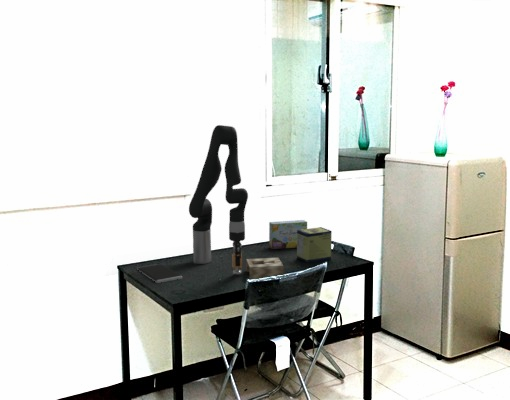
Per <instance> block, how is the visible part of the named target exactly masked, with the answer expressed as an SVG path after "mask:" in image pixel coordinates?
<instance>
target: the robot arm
mask: <svg viewBox="0 0 510 400" xmlns="http://www.w3.org/2000/svg"><path fill="white" fill-rule="evenodd" d="M221 145H223V146H224V145H225V146H227V147H228V156H227V158H226V161H225V164H224V174H225V180H226V185H225V186H226V189H225V201H226V202H227V203H228V204H229V205H232V204H233V205H234V204H238V205H237V206H236V207H231V209H230V210H229V212H228V213H229V221H228V222H229V223H228V234H229V235H228V236H229V237H228V239H229V240H230V241H232V252H233V253H234V254H235V265H236V266H240V258H241V254H242V247H243V246H242V242H243V241H245V239H246V229H245V228H246V224H245V210H246V205H247V203H248V199H249V195H248V194H249V193H248V191H247V190H246V188H244V187H243V188H241V187H240V188H234V186H237V185H240V184H241V183H242V177H241V171H240V165H239V151H238V150H239V149H238V133H237V129H236V128H235V127H234V126H230V125H221V124H219V125H216V126H215V127H214V128H213V130H212V134H211V137H210V143H209V146H208V151H207V154H206V158H205V160H204V164H203V167H202V169H201V172H200V173H201V174H200V177H199V180H198V182H197V186H196V187H195V191H194V194H193V196H192V198H191V200H190V203H189V207H188V212H189V213H188V214H189V215H190V216H191V217H192V218H193V219H197V220H196V221H195V222H194V223H193V224H192V248H193V249H192V250H193V251H192V253H193V254H192V255H193V264H199V265H200V264H201V265H202V264H203V265H205V264H209V263H211V262H212V241H211V240H212V239H211V238H212V236H211V235H212V234H211V226H212V223H213V207H212V203H211V201H210V200H209V199H208V198H207V197H208V196H209V194H210V192H212V190H213V189H214V188H215V186H217V184H218V182H219V179H220V177H221V174H222V169H223V168H222V163H221V160H220V156H219V152H220V148H221ZM241 241H242V242H241ZM237 254H239V256H237Z"/></svg>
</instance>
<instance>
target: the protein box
mask: <svg viewBox="0 0 510 400" xmlns="http://www.w3.org/2000/svg"><path fill="white" fill-rule="evenodd" d="M332 233H333V232H332V230H330V229H327V228H324V227H322V226H320V227H312V228H307V229H302V230H297V247H296V258H297V259H298V260H300V261H302V262H305V263H307V264H308V263H314V262H320V261H321V262H322V261H328V260H327V259H329V260H332Z"/></svg>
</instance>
